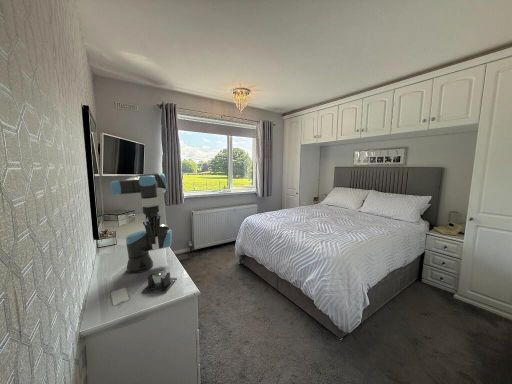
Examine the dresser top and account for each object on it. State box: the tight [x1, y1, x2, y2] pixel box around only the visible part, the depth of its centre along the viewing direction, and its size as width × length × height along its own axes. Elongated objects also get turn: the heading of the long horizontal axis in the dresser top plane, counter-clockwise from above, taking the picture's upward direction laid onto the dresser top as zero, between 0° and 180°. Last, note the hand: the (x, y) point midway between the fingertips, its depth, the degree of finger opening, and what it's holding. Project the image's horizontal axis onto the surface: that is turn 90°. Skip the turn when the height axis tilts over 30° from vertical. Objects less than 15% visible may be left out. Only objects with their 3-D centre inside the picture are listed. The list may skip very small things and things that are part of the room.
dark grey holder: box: [141, 272, 178, 294], centre depth 116 cm, size 13×13×6 cm
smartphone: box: [110, 287, 131, 307], centre depth 108 cm, size 7×1×15 cm
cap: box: [152, 270, 166, 288], centre depth 115 cm, size 6×6×6 cm
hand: (155, 248), depth 113 cm, fingers closed
